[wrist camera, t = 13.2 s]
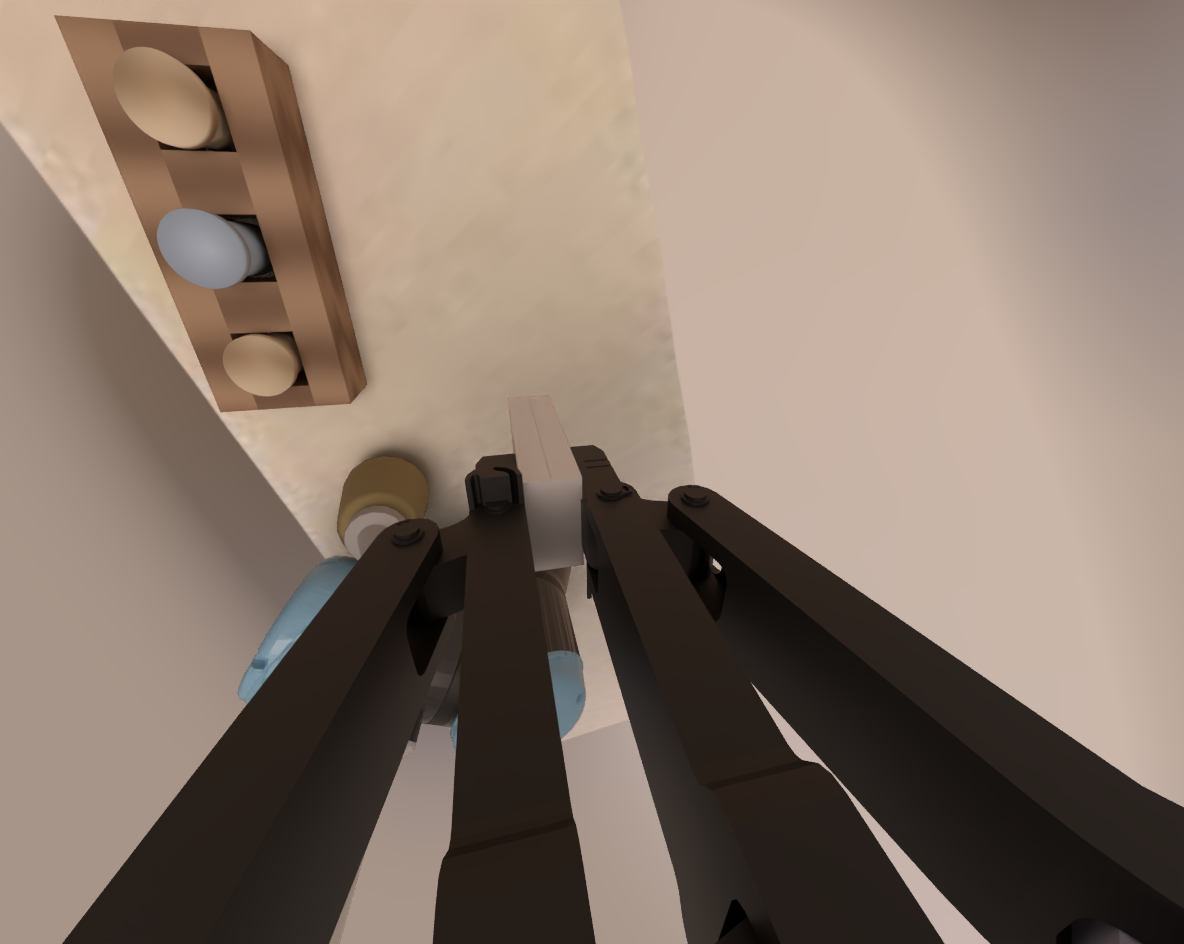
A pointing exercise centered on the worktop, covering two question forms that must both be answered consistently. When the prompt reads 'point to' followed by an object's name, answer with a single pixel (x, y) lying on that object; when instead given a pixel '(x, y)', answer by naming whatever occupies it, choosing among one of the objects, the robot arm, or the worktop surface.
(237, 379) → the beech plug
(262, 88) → the walnut block
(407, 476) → the squeeze bottle
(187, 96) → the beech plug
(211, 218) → the slate plug
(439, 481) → the worktop surface
